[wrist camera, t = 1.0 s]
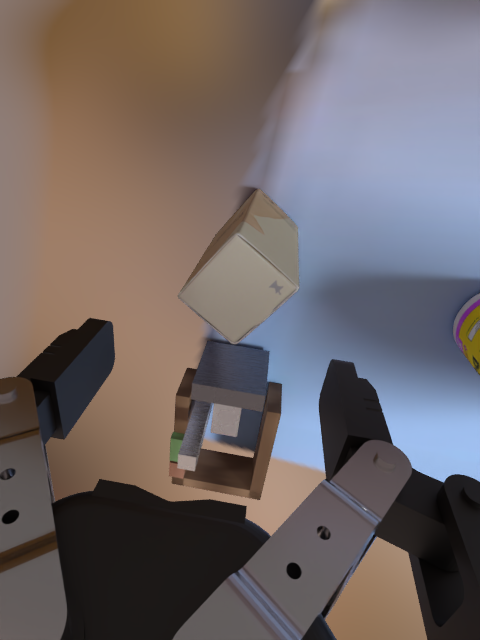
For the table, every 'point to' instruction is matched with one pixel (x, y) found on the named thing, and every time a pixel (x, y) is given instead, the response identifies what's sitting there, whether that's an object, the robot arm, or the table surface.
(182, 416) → the brown wooden open box
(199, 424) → the grey blocky piece
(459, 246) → the table surface
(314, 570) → the robot arm
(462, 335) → the supplement bottle
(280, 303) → the box
